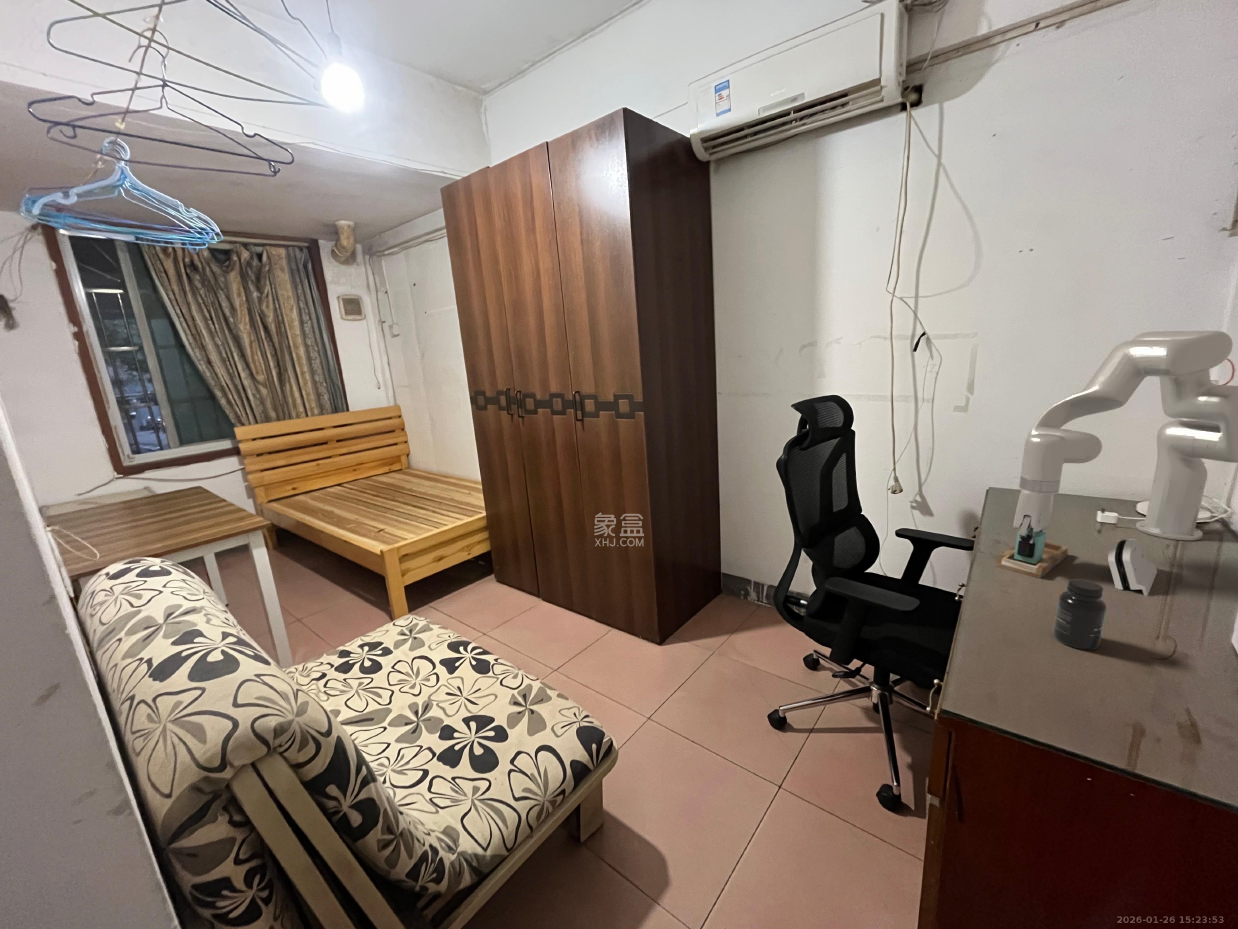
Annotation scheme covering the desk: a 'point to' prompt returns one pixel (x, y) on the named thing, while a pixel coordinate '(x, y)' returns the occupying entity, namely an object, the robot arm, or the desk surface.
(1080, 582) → the supplement bottle
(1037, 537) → the aqua rectangular block
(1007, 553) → the slot board
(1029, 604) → the desk surface
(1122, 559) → the white piece
